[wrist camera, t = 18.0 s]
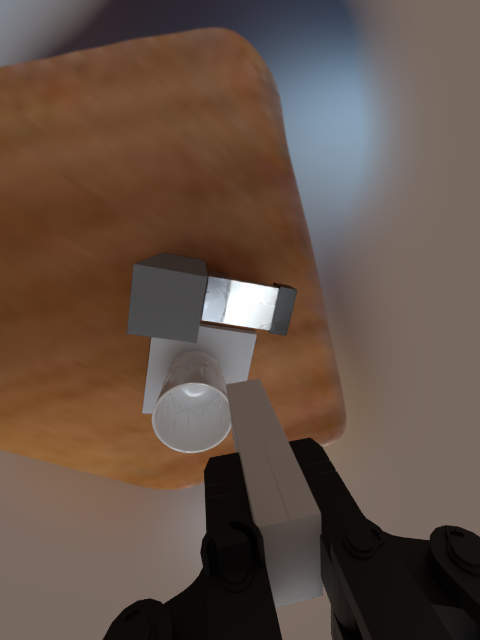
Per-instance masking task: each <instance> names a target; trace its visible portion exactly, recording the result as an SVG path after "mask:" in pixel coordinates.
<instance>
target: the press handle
mask: <svg viewBox="0 0 480 640" xmlns="http://www.w3.org/2000/svg"><path fill="white" fill-rule="evenodd" d="M207 276H208V278H207V284H206V290H205V296H204V302H203V308H202V320H205V321H211V322H218V323H224V324H231V325H238V326H244V327H251V328H258V329H264V330H268V331H269V333H271V334H278V335H285V336H286V335H287V331H288V327H289V322H290V318H291V314H292V310H293V306H294V302H295V298H296V294H297V290H296V289H295V288H293V287H291V286H289V285H283V284H278V283H273V285H270V284H264V283H259V282H253V281H247V280H242V279H236V278H231V277H229V276H228V274H226V273H221V272H215V271H210V270H208V272H207Z"/></svg>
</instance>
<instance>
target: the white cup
mask: <svg viewBox="0 0 480 640" xmlns="http://www.w3.org/2000/svg"><path fill="white" fill-rule="evenodd" d="M152 425H153V429H154V432H155V434H156V435H157V437H158V438H159V440H160V441H161V442H162V443H164V444H165V445H166V446H168V447H169V448H171V449H173V450H176V451H179V452H184V453H198V452H203V451H206V450H209V449H211V448H213V447H215V446H216V445H218V444H219V443H220V442H221V441H223V440H224V438H225V437H226V436H227V435H228V433H229V431H230V429H231V420H230V412H229V404H228V396H227V388H226V383H225V380H224V377H223V374H222V371H221V368H220V366H219V364H218V362H217V360H216V359H215V358H214V357H212V356H211V355H210V354H209V353H206V352H202V351H198V350H194V351H189V352H184V353H183V354H181V355H180V356H178V357H177V358H176V359H175V360H174V361H173V363H172V365H171V367H170V369H169V371H168V373H167V375H166V377H165V380H164V382H163V385H162V387H161V390H160V393H159V396H158V398H157V401H156V404H155V406H154V409H153V413H152Z"/></svg>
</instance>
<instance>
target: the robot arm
mask: <svg viewBox="0 0 480 640" xmlns="http://www.w3.org/2000/svg"><path fill="white" fill-rule="evenodd" d="M226 388H227V396H228V404H229V412H230V420H231V428H232V436H233V441H234V446H235V452H236V453H232V454H227V455H222V456H216V457H211V458H209V461H208V463H207V465H206V468H205V470H204V482H205V506H206V534H205V536H204V538H203V540H202V546H201V552H200V553H201V558H202V563H203V568H202V570H201V572H200V574H199V576H198V577H197V578H196V580H195V581H194V582H193V583H192V584H191V585H190V586H189V587H188V588H187V589H185V590H184V591H183V592H181V593H180V594H178V595H177V596H175V597H174V598H172V599H170V600H169V601H167V602H166V603H164V604H162V603H161V602H160V601H156V600H154V599H144V600H140V601H137V602H135V603H133V604H131V605H130V606H128V607H127V608H125V609H124V610H123V611H122V612H121V613H120V614H119V616H118V617H117V618H116V619H115V620H114V621H113V622H112V624H111V626H110V627H109V629H108V631H107V633H106V635H105V637H104V638H103V640H282V636H281V632H280V627H279V623H278V618H277V613H276V609H275V607H279V606H283V605H287V604H291V603H295V602H299V601H302V600H306V599H310V598H314V597H318V596H322V595H323V584H324V587H325V589H326V592H327V595H328V598H329V600H330V603H331V635H332V640H480V537H479V536H478V535H476V534H474V533H473V532H471V531H468V530H465V529H463V528H460V527H457V526H447V525H445V526H441V527H438V528H435V530H434V531H433V532H432V533H431V535H430V540H421V539H413V538H404V537H399V536H394V535H391V534H388V533H386V532H384V531H382V530H381V528H380V527H379V526H377V525H376V524H374V523H373V522H371V521H370V520H368V519H366V517H365V516H364V515H363V513H362V512H361V510H360V509H359V507H358V506H357V504H356V502H355V501H354V499H353V497H352V496H351V494H350V492H349V491H348V489H347V487H346V486H345V484H344V482H343V481H342V479H341V477H340V476H339V474H338V473H337V472H336V470H335V468H334V466H333V464H332V463H331V461H330V460H329V458H328V456H327V454H326V453H325V451H324V450H323V448H322V446H320V445H319V444H318V443H316V442H315V441H314V440H313V439H311V438H305V439H300V440H295V441H290V442H288V440H287V438H286V436H285V433H284V431H283V429H282V427H281V425H280V422H279V420H278V418H277V416H276V414H275V411H274V409H273V407H272V405H271V403H270V401H269V398H268V396H267V394H266V392H265V390H264V387H263V385H262V383H261V381H260V379H255V380H249V381H243V382H237V383H230V384H226Z"/></svg>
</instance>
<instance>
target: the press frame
mask: <svg viewBox="0 0 480 640" xmlns="http://www.w3.org/2000/svg"><path fill="white" fill-rule="evenodd" d="M207 278H208V276H207V270H206V263H205V260H200V259H195V258H189V257H184V256H178V255H173V254H168V253H162V254H159V255H156V256H154V257H151V258H148V259H146V260H143V261H140V262H138V263H135V264H134V268H133V278H132V288H131V297H130V307H129V317H128V327H127V334H132V335H140V336H147V337H152V338H151V346H150V354H149V363H148V371H147V379H146V387H145V395H144V403H143V411H142V413H148V414H152V413H153V409H154V406H155V404H156V401H157V398H158V396H159V393H160V390H161V387H162V385H163V382H164V380H165V377H166V375H167V373H168V371H169V369H170V367H171V365H172V363H173V361H174V360H175V359H176V358H177V357H178V356H180V355H181V354H183V353H184V352H189V351H194V350H198V351H202V352H206V353H209V354H210V355H211V356H212V357H214V358H215V359H216V360H217V362H218V364H219V366H220V368H221V371H222V374H223V377H224V380H225V383H226V384H230V383H237V382H243V381H247V378H248V373H249V368H250V364H251V359H252V355H253V350H254V345H255V341H256V336H257V334H256V332H255V331H250V330H244V329H237V328H230V327H223V326H217V325H210V324H203V323H200V320H201V314H202V308H203V302H204V296H205V290H206V284H207Z"/></svg>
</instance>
